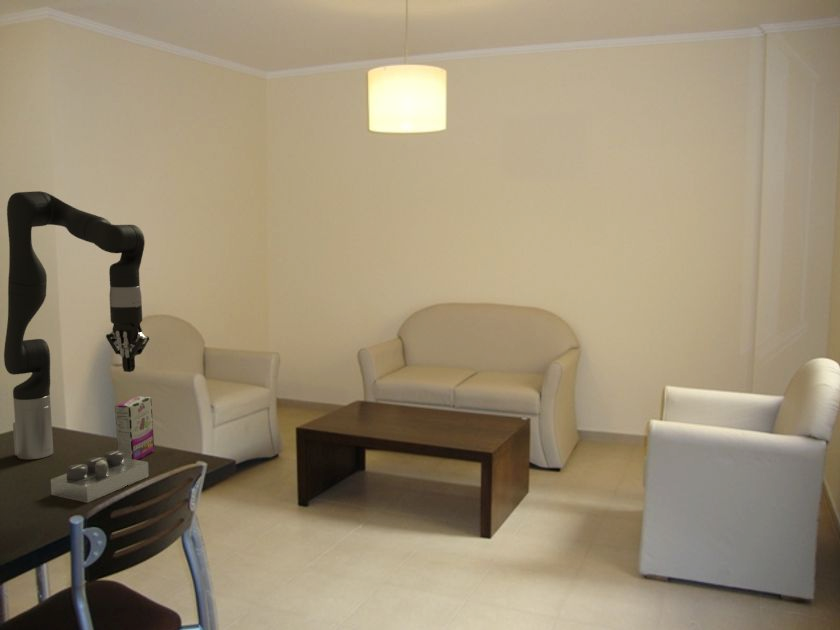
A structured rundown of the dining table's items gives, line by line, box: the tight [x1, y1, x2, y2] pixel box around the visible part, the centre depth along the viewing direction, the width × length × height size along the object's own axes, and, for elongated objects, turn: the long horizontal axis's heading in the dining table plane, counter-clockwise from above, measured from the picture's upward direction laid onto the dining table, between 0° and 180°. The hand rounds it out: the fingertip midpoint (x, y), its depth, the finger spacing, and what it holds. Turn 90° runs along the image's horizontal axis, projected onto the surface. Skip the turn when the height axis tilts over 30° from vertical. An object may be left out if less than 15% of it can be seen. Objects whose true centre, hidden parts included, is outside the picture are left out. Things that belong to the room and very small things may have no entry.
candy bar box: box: [114, 395, 155, 461], centre depth 213 cm, size 11×5×16 cm, turn 168°
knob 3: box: [104, 449, 125, 466], centre depth 197 cm, size 5×5×6 cm
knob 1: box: [65, 463, 88, 480], centre depth 186 cm, size 5×5×6 cm
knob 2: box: [85, 456, 106, 473], centre depth 192 cm, size 5×5×6 cm
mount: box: [50, 458, 150, 504], centre depth 191 cm, size 12×20×4 cm, turn 156°
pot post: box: [95, 461, 108, 478], centre depth 187 cm, size 3×3×4 cm
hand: (129, 371), depth 193 cm, fingers closed
